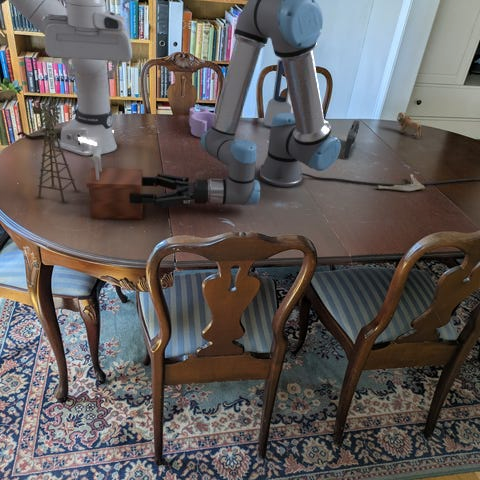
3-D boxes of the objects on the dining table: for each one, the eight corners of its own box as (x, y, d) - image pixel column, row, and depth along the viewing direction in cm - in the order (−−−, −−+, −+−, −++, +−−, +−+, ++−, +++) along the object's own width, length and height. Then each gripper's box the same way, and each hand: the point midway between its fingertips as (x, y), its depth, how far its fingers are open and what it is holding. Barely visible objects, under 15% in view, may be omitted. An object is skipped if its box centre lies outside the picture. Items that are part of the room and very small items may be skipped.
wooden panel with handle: (86, 187, 128) (83, 158, 123) (92, 171, 136) (89, 143, 131) (140, 188, 130) (139, 160, 125) (142, 173, 138) (141, 145, 134)
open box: (91, 218, 133) (88, 187, 128) (96, 201, 141) (93, 171, 136) (141, 219, 135) (140, 188, 130) (143, 202, 144) (142, 173, 138)
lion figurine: (391, 130, 224) (396, 112, 219) (396, 128, 227) (401, 110, 222) (420, 139, 216) (426, 121, 211) (425, 137, 220) (431, 118, 215)
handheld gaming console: (349, 160, 187) (354, 136, 182) (342, 158, 188) (347, 134, 183) (355, 142, 206) (361, 119, 201) (349, 140, 207) (354, 118, 201)
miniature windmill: (63, 202, 138) (50, 102, 122) (36, 197, 139) (20, 97, 123) (78, 189, 146) (67, 93, 130) (53, 185, 147) (39, 89, 131)
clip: (182, 123, 206) (183, 107, 202) (209, 122, 210) (210, 106, 207) (197, 140, 191) (197, 123, 187) (225, 138, 195) (226, 122, 191)
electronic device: (292, 127, 215) (303, 59, 199) (288, 132, 209) (299, 62, 192) (267, 122, 218) (275, 54, 201) (262, 126, 212) (270, 57, 195)
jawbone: (429, 189, 172) (431, 184, 171) (394, 201, 161) (396, 196, 160) (410, 177, 177) (412, 172, 176) (375, 189, 167) (376, 184, 165)
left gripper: (37, 15, 105) (45, 78, 113) (129, 22, 108) (131, 83, 116) (43, 11, 111) (51, 71, 118) (131, 18, 114) (133, 76, 121)
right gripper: (209, 221, 131) (128, 220, 128) (204, 185, 150) (134, 183, 147) (211, 198, 127) (127, 196, 124) (205, 163, 146) (133, 161, 143)
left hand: (91, 77), depth 117 cm, fingers open, 8 cm apart
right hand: (131, 189), depth 135 cm, fingers closed on open box, 10 cm apart
